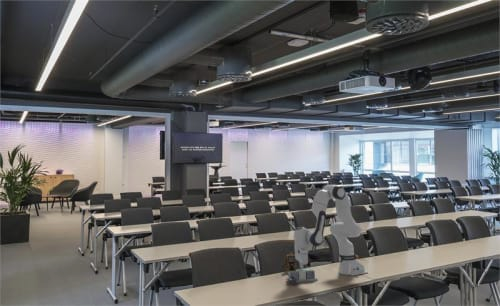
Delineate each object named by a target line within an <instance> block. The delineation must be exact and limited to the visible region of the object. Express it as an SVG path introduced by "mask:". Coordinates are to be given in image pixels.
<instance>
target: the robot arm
mask: <svg viewBox="0 0 500 306" xmlns="http://www.w3.org/2000/svg"><path fill="white" fill-rule="evenodd" d="M349 198H350V197H349V195H348V193H347V192H346V190H345V188H344V187H343V186H342V185H336V184H324V185H322V186H321V189H320V190H317V192H316V194H315V195H314V197H313V200H312V205H311V211H312V213H313V215H314V216H315V217H316V222H315V228H314V229H315V230H310V229H307V228H306V227H305V226H298V227H295V229H294V230H293V231H294V232H293V240H294V255H295V259H296V261H298V265H299V268H300V269H304V265H305V266H306V265H308V264H309V263H308V262H309V249H308V247H307V244H310V245H311V246H314V247H319V246H321V245H322V244H323V243H324V240H325V239H324V231H325V225H326V221H327V220H326V219H327V209H328V204H329V201H330V200H334V202H335V212H336V216H337V218H339V219H340V220H342V222H338V221H337V222H332V223H331V225H330V227H329V231H330V233H331V234H332V235H333V237H335V239H336V241H337V244H338V250H339V251H338V253H339V254H338V261H339V265H338V271H337V272H338V274H340V275H347V276H359V275H364V274H368V270H367V269H365V265H364V264H363V263H362V262H361V261H360V260H359V259H358V258H359V255H357V254H355V252H354V244H353V243H352V242H351V241H350V240H349V239H348V238H358V237H360V236H361V234H362V227H361V225H360V224H358V223H357V222H356V220H355V219H354V218H353V214H352V210H351V203H350V199H349Z"/></svg>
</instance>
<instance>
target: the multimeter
mask: <svg viewBox="0 0 500 306" xmlns="http://www.w3.org/2000/svg"><path fill="white" fill-rule="evenodd" d="M286 248H287V246H285V247H284V249H283V252H282V253H284V252H285V249H286ZM292 248H295V245H294V246H293V245H292V246H291V247H290V252H289V254H286V256H285V264H283V268H285V267H286V271H287V272H285V274H288V271H297V265H298V269H301V268H300V264H297V263H299V261H298V260H296V259H295V253H294V254H293V250H292ZM285 265H286V266H285Z"/></svg>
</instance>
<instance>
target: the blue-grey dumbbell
mask: <svg viewBox="0 0 500 306" xmlns="http://www.w3.org/2000/svg"><path fill="white" fill-rule="evenodd" d="M305 270H306V279H304V280H299V277H298V272H297V270H296V271H287V274H288V278H286V279H285V281H286V282H287V283H288V279H297V282H298V283H308V282H317V281H318V279H319V278H317V277H315V276H316V274H315V270H314V269H313V268H310V269H305Z"/></svg>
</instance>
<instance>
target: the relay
mask: <svg viewBox="0 0 500 306" xmlns="http://www.w3.org/2000/svg"><path fill="white" fill-rule="evenodd" d="M287 285H288V286H298V283H297V279H288V282H287Z"/></svg>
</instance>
